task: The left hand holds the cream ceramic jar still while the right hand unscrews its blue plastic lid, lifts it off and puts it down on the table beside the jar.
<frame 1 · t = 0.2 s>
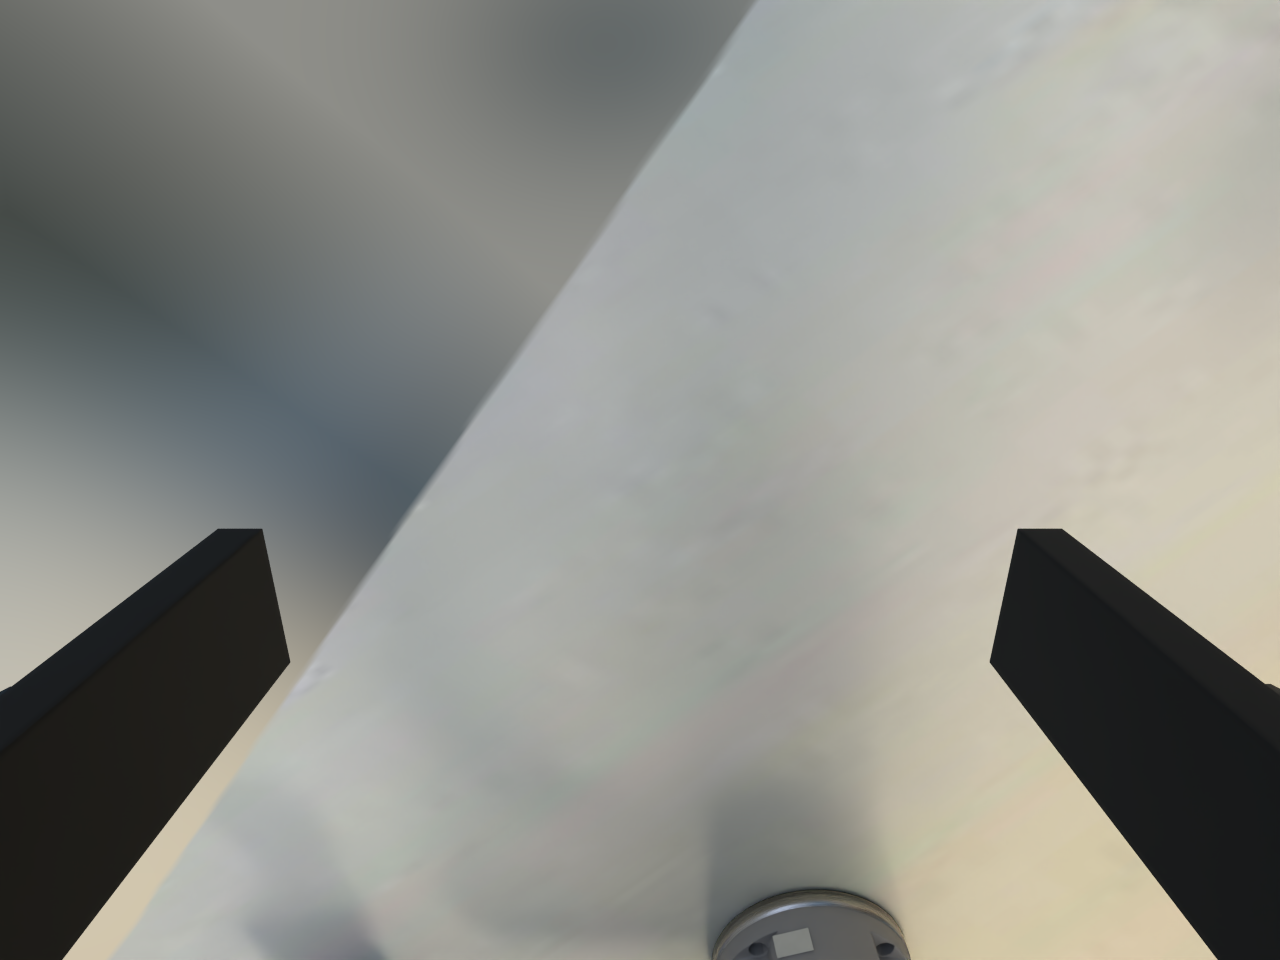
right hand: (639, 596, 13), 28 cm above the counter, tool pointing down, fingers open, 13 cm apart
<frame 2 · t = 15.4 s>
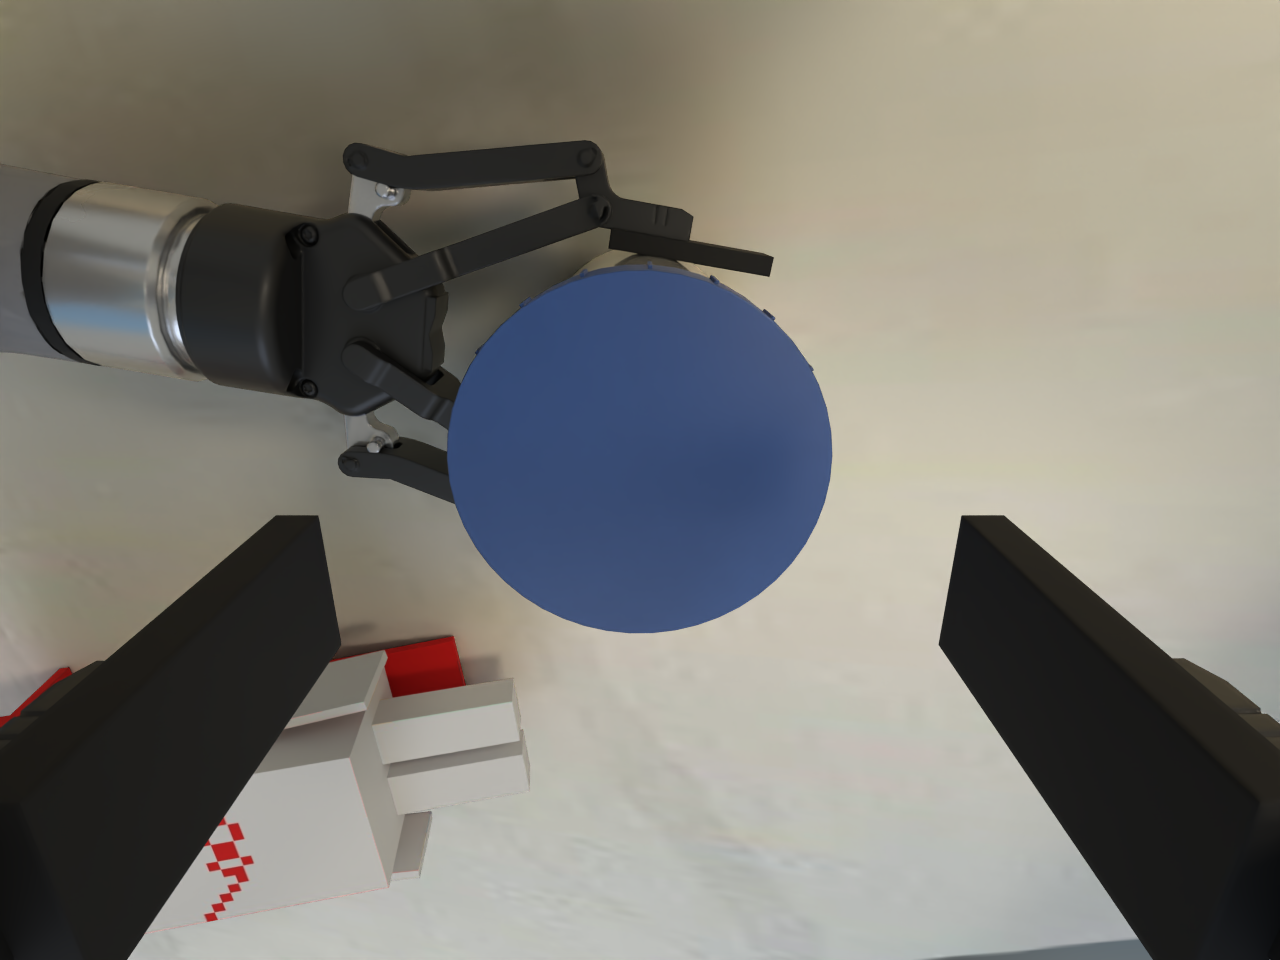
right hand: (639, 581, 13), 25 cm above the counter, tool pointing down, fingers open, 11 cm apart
left hand: (739, 381, 31), fingers closed on jar, 9 cm apart
lid: (639, 465, 19), point 19 cm above the counter, screwed on, not yet turned
jar: (639, 339, 37), on the counter, touching left hand
toy: (297, 706, 45), on the counter
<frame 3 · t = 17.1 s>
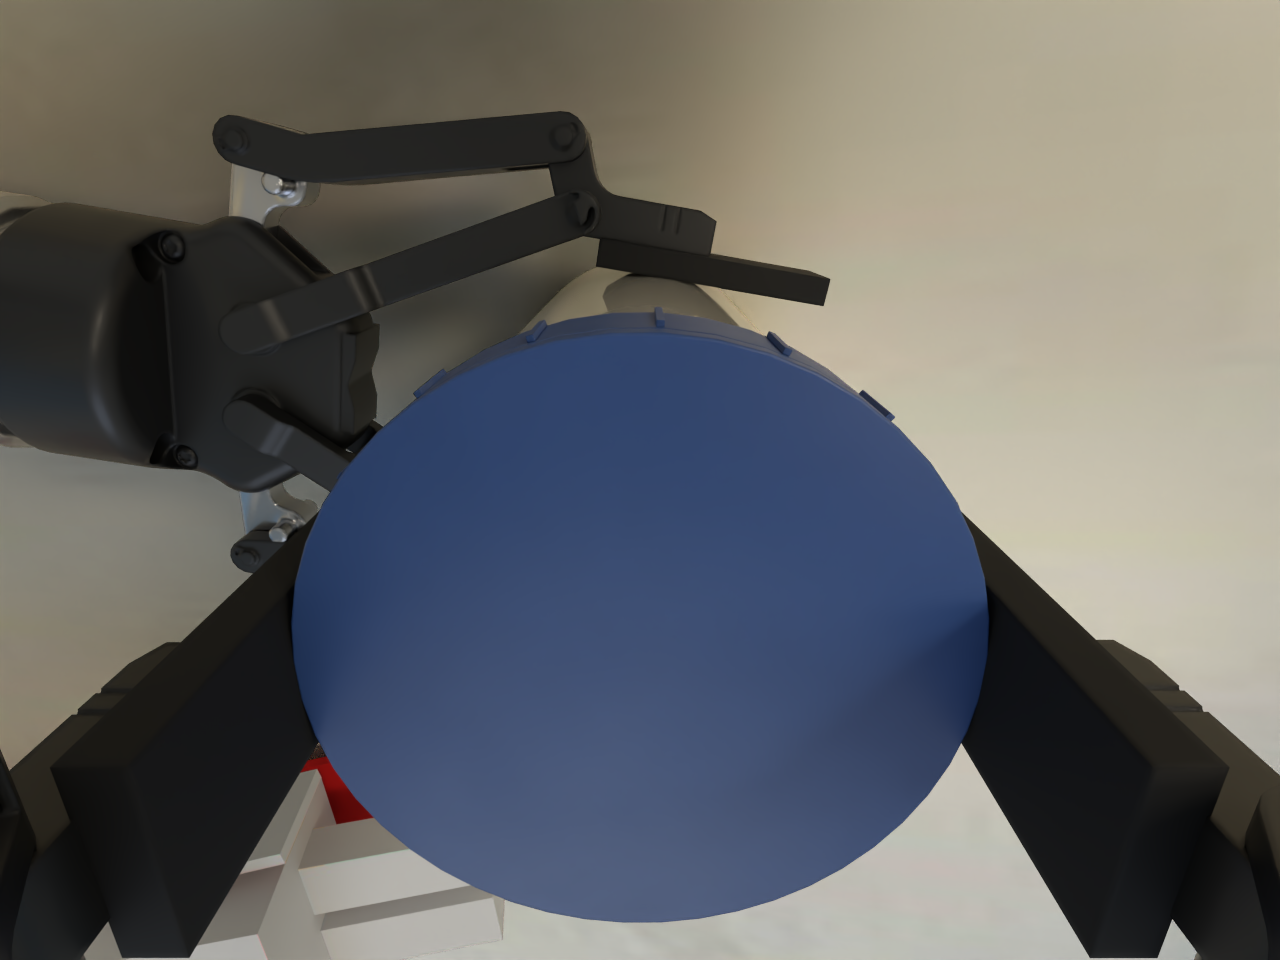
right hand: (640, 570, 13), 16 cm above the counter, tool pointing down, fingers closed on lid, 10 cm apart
left hand: (776, 444, 23), fingers closed on jar, 9 cm apart
lid: (640, 665, 11), point 19 cm above the counter, screwed on, not yet turned, touching right hand
jar: (640, 378, 29), on the counter, touching left hand
toy: (221, 818, 37), on the counter
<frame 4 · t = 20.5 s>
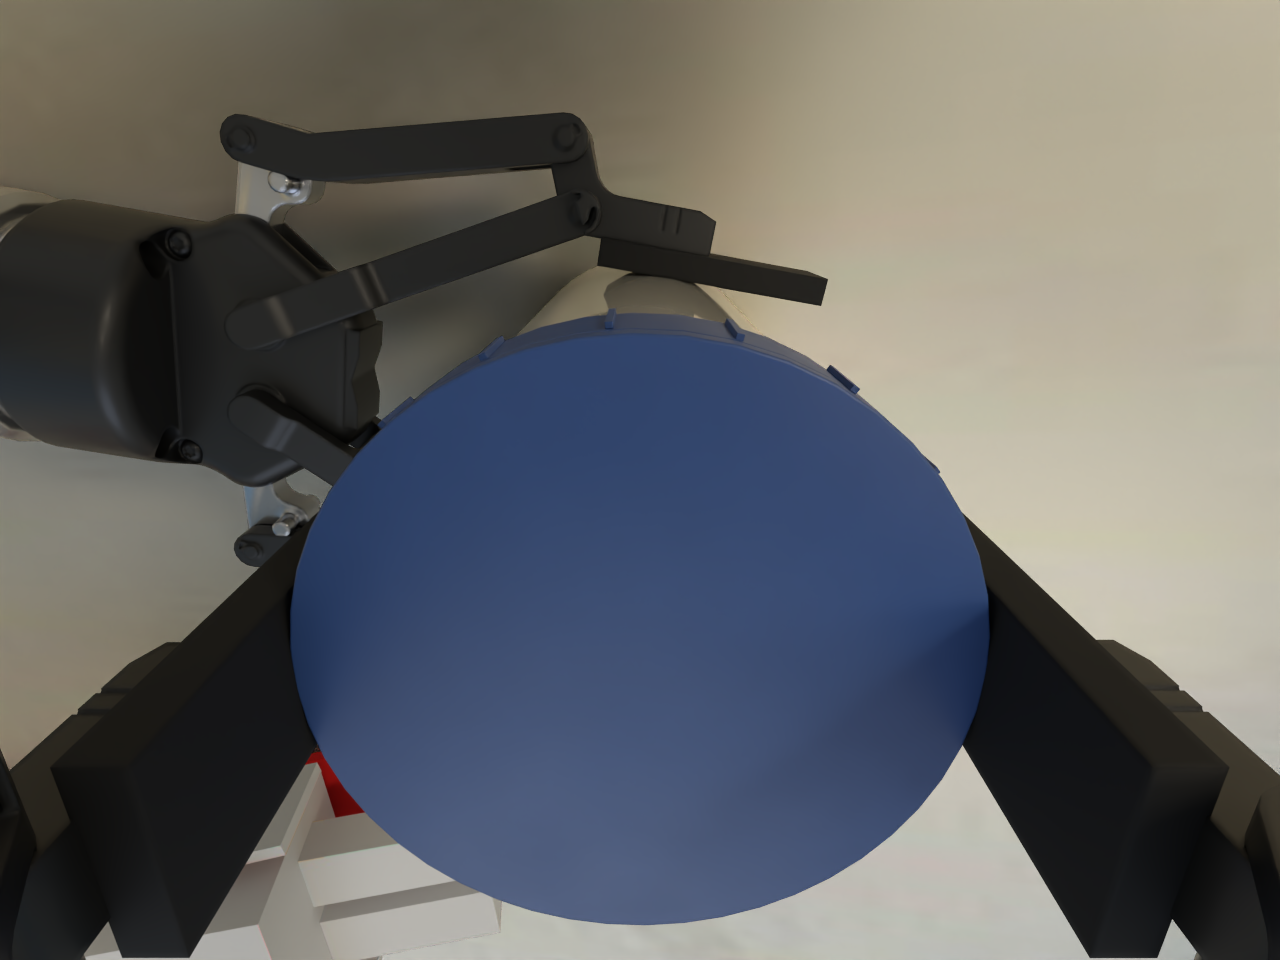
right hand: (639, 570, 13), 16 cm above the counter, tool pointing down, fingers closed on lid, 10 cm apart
left hand: (774, 442, 23), fingers closed on jar, 9 cm apart
lid: (639, 667, 11), point 19 cm above the counter, turned 102° so far, risen 0.3 cm, still on its thread, touching right hand
jar: (640, 377, 29), on the counter, touching left hand
toy: (220, 811, 37), on the counter
when the right hand's fingers open (0 cm above the counter, at t = 26.5 s): lid drops 2 cm, point 1 cm above the counter.
when the left hand's fingers open (6 cm above the counter, at t = 27.6 s): jar stays where it is, on the counter.
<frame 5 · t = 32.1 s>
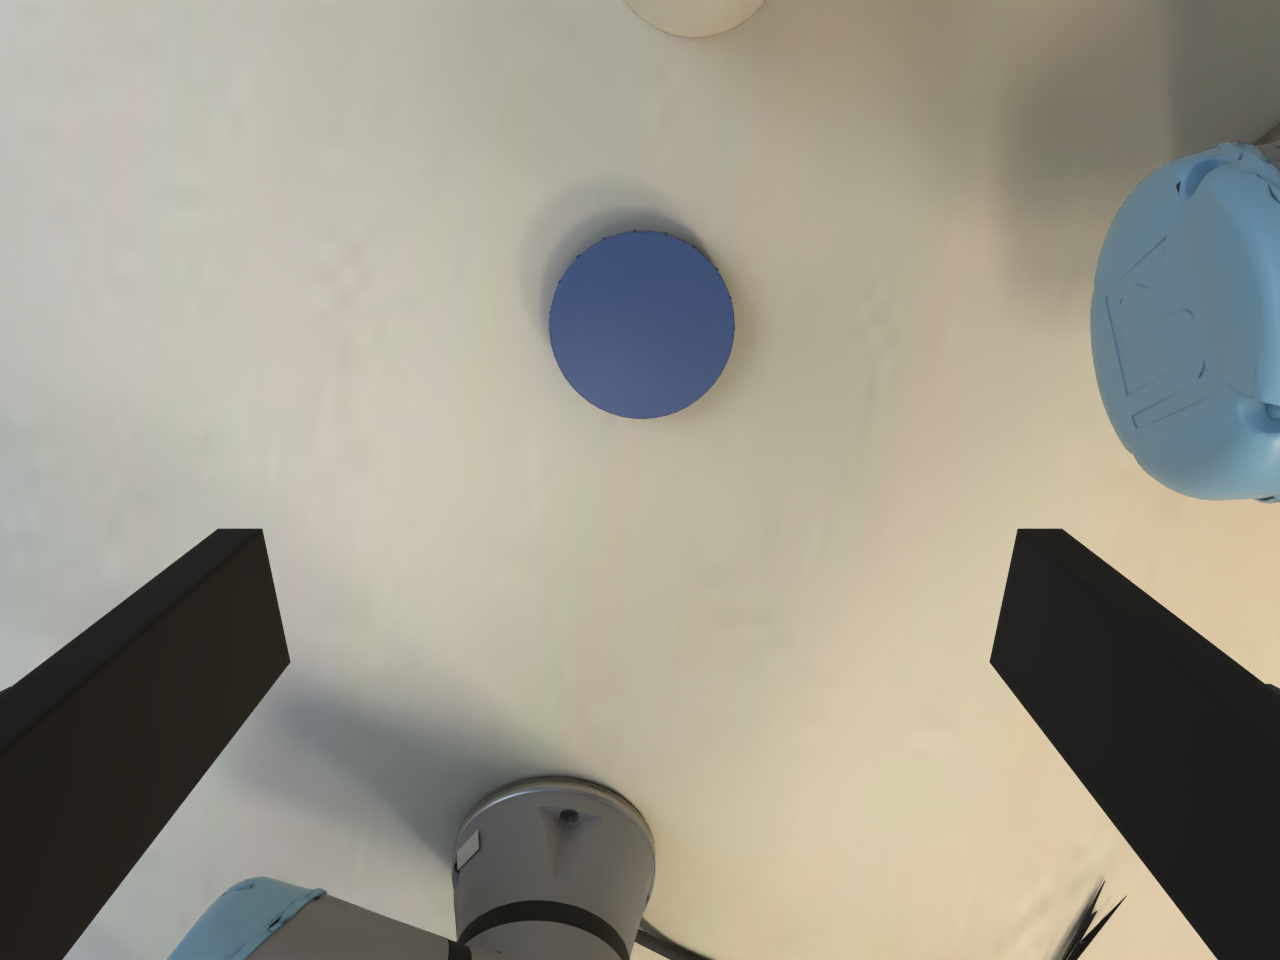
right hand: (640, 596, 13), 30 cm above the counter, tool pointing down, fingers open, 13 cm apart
lid: (641, 328, 39), point 1 cm above the counter, off its thread
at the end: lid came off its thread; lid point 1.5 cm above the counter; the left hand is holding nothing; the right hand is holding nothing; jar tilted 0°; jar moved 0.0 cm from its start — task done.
